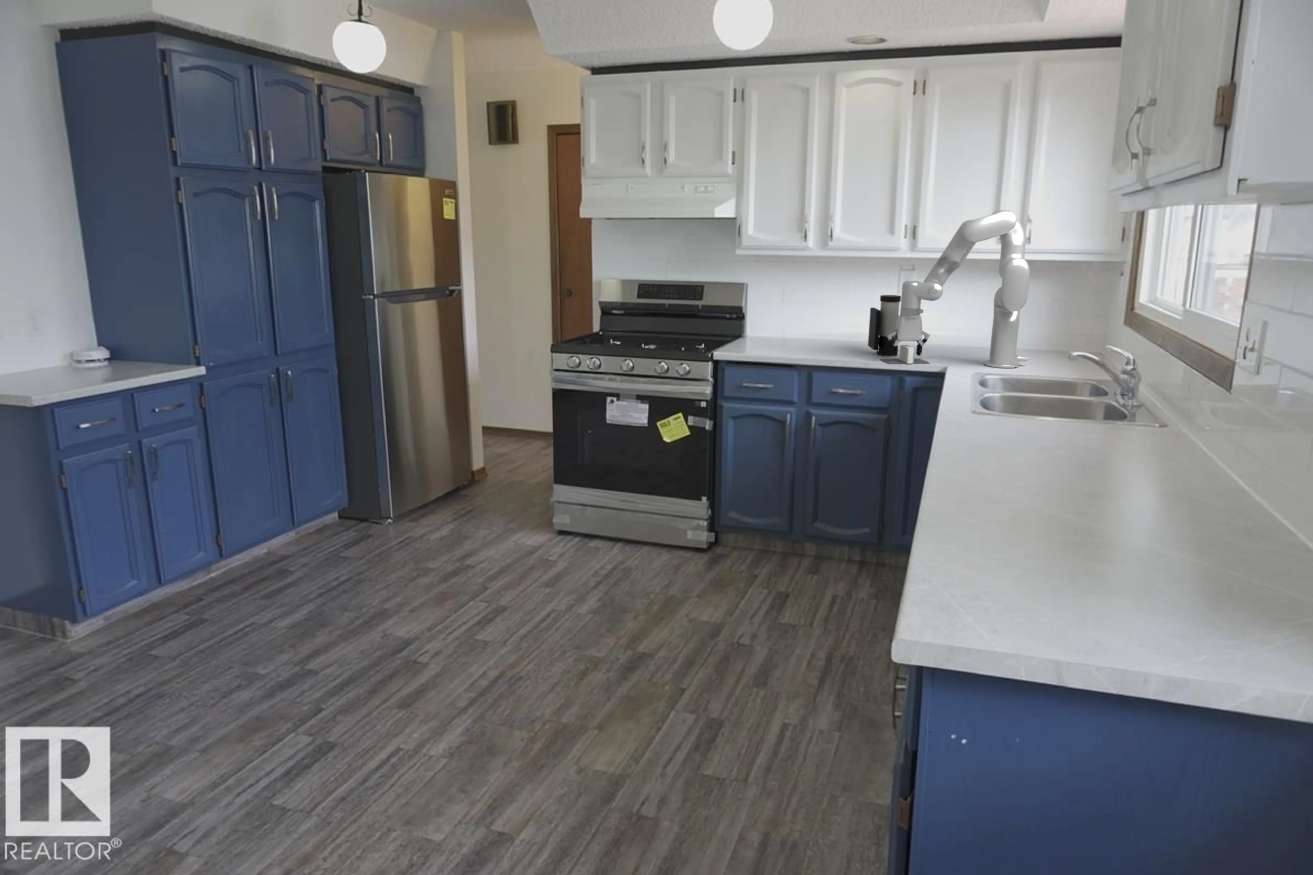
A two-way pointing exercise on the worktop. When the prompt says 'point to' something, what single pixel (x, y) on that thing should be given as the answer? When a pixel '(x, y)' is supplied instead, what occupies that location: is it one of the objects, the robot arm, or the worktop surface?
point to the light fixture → (883, 324)
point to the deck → (907, 354)
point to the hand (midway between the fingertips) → (906, 355)
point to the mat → (897, 361)
